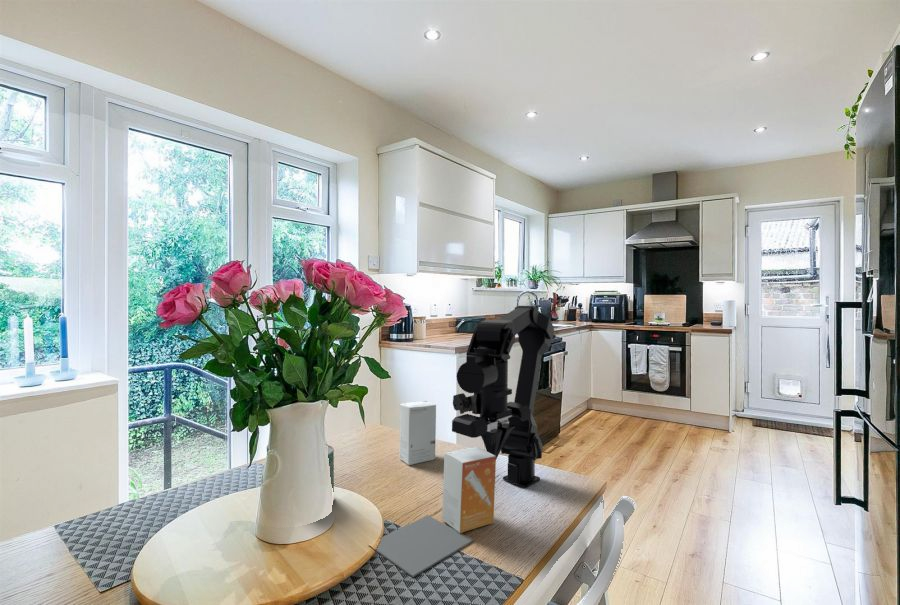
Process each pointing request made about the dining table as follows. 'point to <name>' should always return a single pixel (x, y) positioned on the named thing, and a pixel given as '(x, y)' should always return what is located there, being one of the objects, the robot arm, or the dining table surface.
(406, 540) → the mat
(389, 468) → the dining table surface
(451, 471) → the small box
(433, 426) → the skincare box
